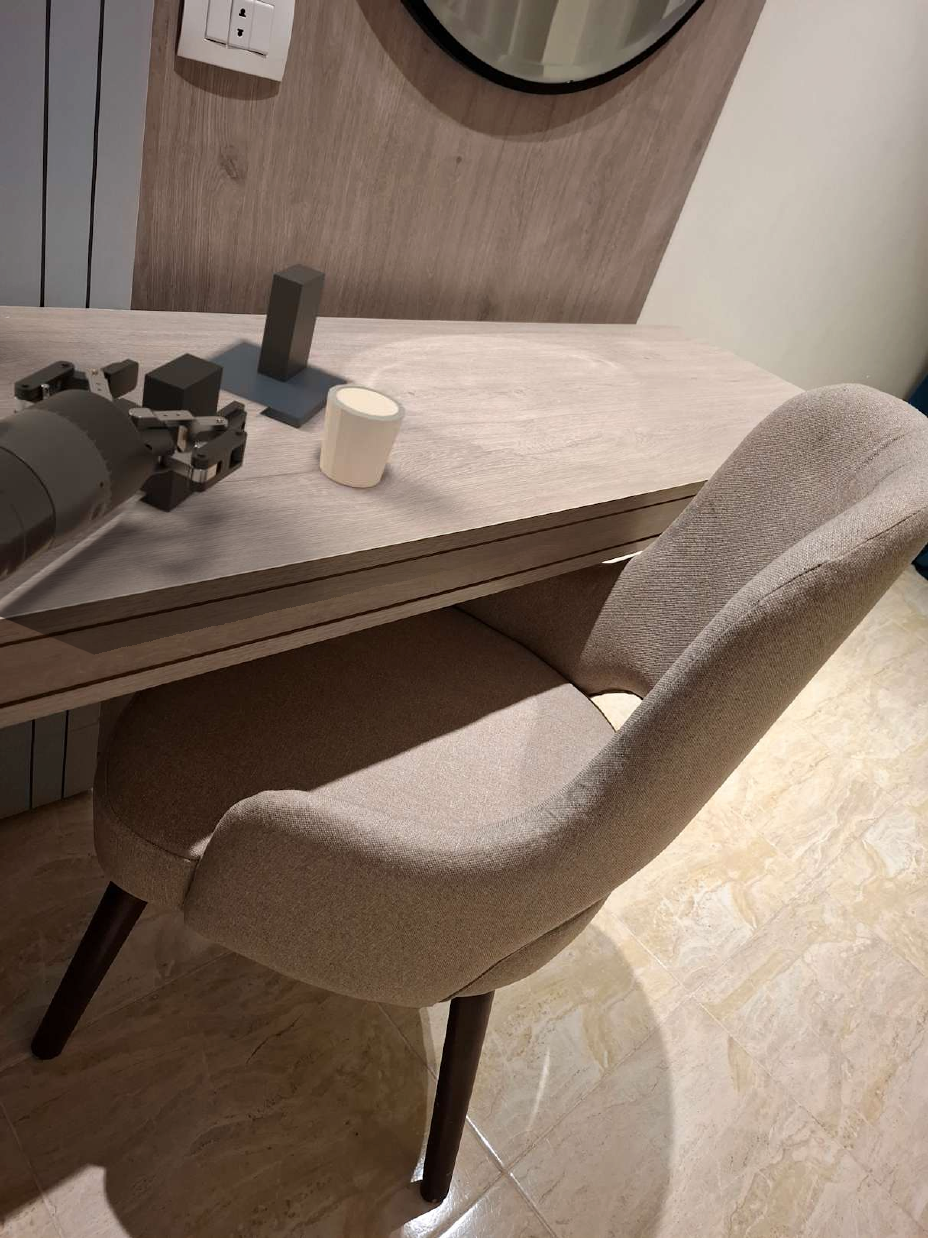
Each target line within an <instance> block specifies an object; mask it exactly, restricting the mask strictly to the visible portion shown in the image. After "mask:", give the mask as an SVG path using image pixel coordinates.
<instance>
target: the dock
mask: <svg viewBox="0 0 928 1238" xmlns="http://www.w3.org/2000/svg"><path fill="white" fill-rule="evenodd" d="M325 277H326V273H325V272H323V271H320V270H317V269H315V268H312V267H310V266H306V265H304V264H302V263H299V262H298V263H296V264H293V265H291V266H288V267H286V268H284V269H281V270H279V271H277V272H274V273H273V276H272V281H271V286H270V287H271V288H270V293H269V299H268V304H267V312H266V317H265V324H264V329H263V334H262V341H261V347H260V346H257V345H255V344H252V343H249V342H248V341H242V342H241V343H238V344H237V345H236V346H235V345H234V346H233V347H231V348H229V349H227V350H226V351H224V352H222V353H220V354H218V355H217V356H215V357H213V358H211V359H209V360H208V361H209V362H212V363H214V364H217V365H220V366H222V367H223V373H222V379H221V386H220V390H222V391H225V392H228V393H231V394H233V395H236V396H238V397H241V398H244V399H246V400H249V401H251V402H253V403H256V404H259V405H262V406H264V407H266V408H264V409H263V410H261V412H259V414H260V415H261V414H262V415H264V416H266V417H269V418H271V419H274V420H277V421H279V422H282V423H283V424H287V425H289V426H292V427H295V428H300V427H302V425H304V424H305V423H307V421H309V420H310V419H311V418H312V417H313V416H315V415H316V414H317V413H319V411H321V410H322V409H323V408H325V407H326V406H327V397H328V392H329V390H330V388H332V387H334V386H337V385H345V384H348V380H345V379H343V378H341V377H338V376H335V375H332V374H331V373H328V372H326V371H322V370H320V369H317V368H315V367H311V366H310V365H308V362H309V359H310V358H309V357H310V352H311V348H312V343H313V337H314V333H315V328H316V322H317V318H318V312H319V307H320V302H321V298H322V293H323V287H324V283H325Z"/></svg>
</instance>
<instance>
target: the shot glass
mask: <svg viewBox="0 0 928 1238" xmlns="http://www.w3.org/2000/svg"><path fill="white" fill-rule="evenodd" d="M405 414H406V408H405V406H403V404H402V403H401V402H400V401H399V400H398V399H396V398H394V397H393V396H391V395H390V394H388V393H385V392H383V391H380V390H378V389H375V388H372V387H369V386H365V385H359V384H351V383H347V384H345V385H337V386H334V387H332V388H330V390H329V392H328V397H327V405H326V406H325V415H324V423H323V431H322V441H321V449H320V457H319V468H320V471H321V473H322V474H323V475H325V476H326V477H327V478H329V479H330V480H332V481H334V482H336V483H338V484H340V485H344V486H348V487H352V488H364V489H365V488H371V487H375V486H376V485H377V484H379V483H380V481H381V478H382V476H383V473H384V471H385V469H386V466H387V463H388V460H389V457H390V455H391V452H392V449H393V448H394V444H395V442H396V439H397V436H398V433H399V432H400V428H401V426H402V423H403V421H404V418H405Z"/></svg>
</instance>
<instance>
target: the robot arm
mask: <svg viewBox="0 0 928 1238" xmlns="http://www.w3.org/2000/svg"><path fill="white" fill-rule="evenodd" d="M139 368H140V364H139V362H138V361H135V360H133V359H130V358H127V359H124V360H121V361H118V362H112V363H110V364H108V365H106V366H104V367H101V368H97V367H85V368H84V371H81V370H76V365H75V364H74V363H73V362H71V361H67V360H58V361H56V362H54V363H52V364H50V365H47V366H46V367H43V368H42V369H40V370H38V371H36V372H34V373H32V374H30V375H28V376H26V377H24V378H22V379H19V380H18V381H16V382H14V384H13V385H14V387H13V388H14V390H13V391H14V392H13V393H14V394H13V413H12V414H9V415H8V416H5V417H3V418H2V419H0V583H2V582H3V581H5V580H6V579H9V578H10V577H12V576H13V575H14V574H15V573H18V572H19V571H20V570H21V569H23V568H24V567H26V566H28V565H29V564H30V563H31V562H33V561H34V560H36V559H37V558H39V557H40V556H41V555H43V554H44V553H46V552H48V551H50V550H53V549H55V548H57V547H60V546H62V545H64V544H66V543H67V542H69V541H70V540H73V538H75V537H76V536H78V535H80V534H81V533H83V532H84V531H85V530H87V529H88V528H89V527H92V526H93V525H94V524H95V523H96V522H98V521H99V520H101V519H102V518H104V517H105V516H107V515H108V514H110V513H111V512H112V511H114V510H115V509H117V508H118V507H119V506H121V505H122V504H124V503H125V502H127V501H128V500H129V499H131V498H133V496H134V495H135V494H136V493H137V492H139V491H140V490H139V489H140V488H141V486H142V485H143V484H144V482H145V481H146V480H147V479H148V477H149V476H151V475H154V474H158V473H164V472H167V471H169V470H172V471H175V472H177V473H179V474H182V475H184V476H186V477H188V484H187V488H188V489H189V490H191V491H193V492H194V493H204V492H206V491H207V490H209V489H210V488H212V487H213V486H214V485H216V484H218V483H219V482H221V481H222V480H224V479H225V478H227V477H229V476H230V475H231V474H234V473H235V472H236V471H238V470H239V469H241V468H242V467H243V464H244V458H245V452H246V447H247V441H248V432H247V431H246V422H247V418H248V411H245V409H246V407H245V403H243V402H240V401H237V400H233V401H231V402H230V403H228V404H227V405H225V406H224V407H222V408H221V409H219V410H217V412H216V413H215V414H213V416H204V417H194V416H193V415H192V414H191V413H190V412H189V411H187V410H181V411H155V410H152V409H149V408H144V407H142V405H139V404H138V403H136V402H134V401H132V400H129V399H127V398H124V397H123V396H125V395H126V394H128V393H131V392H133V391H134V390H135V389H136V388H137V385H138V380H139V370H140V369H139ZM171 426H179V434H178V442H177V445H176V446H175V442H174V438H173V434H172V430H171ZM200 431H208V437H207V442H196V439H197V434H198V433H199V432H200Z"/></svg>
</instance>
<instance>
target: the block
mask: <svg viewBox="0 0 928 1238" xmlns="http://www.w3.org/2000/svg"><path fill="white" fill-rule="evenodd" d="M222 373H223V367H222V366H220V365H217V364H214V363H212V362H209V360H207V359H204V358H202V357H199V356H197V355H193V354H190V353H189V352H185V353H184V354H182V355H180V356H178V357H176V358H174V359H172V360H170V361H168V362H166V363H164V364H162V365H160V366H158V367H157V368H155V369H152V370H151V371H149V372H147V373H145V374H144V378H143V389H142V401H141V407H144V408H149V409H152V410H155V411H181V410H187V411H189V412H190V413H191V414H192V415H193V416H194V417H204V416H213V414H215V413H216V412H218V407H219V398H220V393H221V389H220V386H221V379H222ZM171 430H172V434H173V438H174V442H175V446H176V445H177V442H178V434H179V426H171ZM207 437H208V431H200V432H199V433H198V434H197V439H196V442H207ZM187 484H188V477H186V476H184V475H182V474H179V473H177V472H175V471H172V470H169V471H167V472H164V473H158V474H154V475H151V476H149V477H148V479H147V480H146V481H145V482H144V484H143V485H142V486H141V488H140V489H139V490H138V491H140V492H141V491H142V492H144V493H146V494H144V495H143V496H142V497H141V498H139V499H138V501H141V502H143V503H145V504H148V505H150V506H153V507H155V508H158V509H160V510H162V511H166V512H168V513H170V512H171V511H172V510H173V509H175V508H176V507H177V506H179V505H180V504H181V503H182V502H184V501H185V500H186V499H187V498H189V497H190V496H192V494H194V493H195V492H193V491H191V490H189V489H188V488H187Z"/></svg>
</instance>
